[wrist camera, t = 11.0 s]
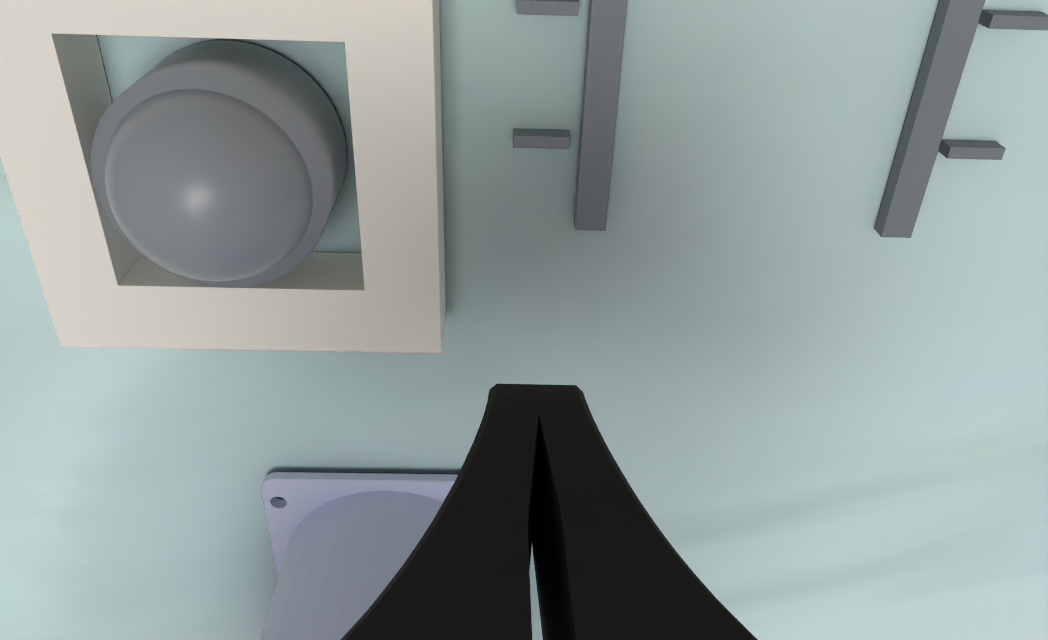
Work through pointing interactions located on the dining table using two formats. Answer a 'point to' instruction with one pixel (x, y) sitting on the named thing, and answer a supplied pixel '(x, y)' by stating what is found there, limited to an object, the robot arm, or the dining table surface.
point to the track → (916, 141)
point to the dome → (221, 164)
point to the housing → (245, 312)
